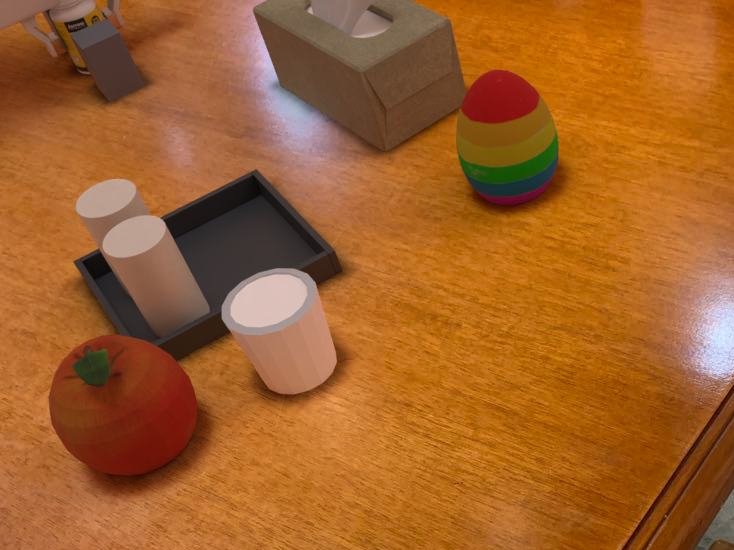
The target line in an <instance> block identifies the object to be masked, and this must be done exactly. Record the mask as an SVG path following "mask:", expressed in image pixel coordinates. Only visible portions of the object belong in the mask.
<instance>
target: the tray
mask: <svg viewBox="0 0 734 550" xmlns="http://www.w3.org/2000/svg"><path fill="white" fill-rule="evenodd" d="M159 218H160V219H162V220H163V221H164V222H165V224H166V226H167V228H168V230H169V232H170V234H171V235H172V237H173V239H174V241H175V243H176V245H177V247H178V249H179V251H180V252H181V254H182V256H183V258H184V260H185V262H186V264H187V266H188V267H189V269H190V271H191V273H192V275H193V277H194V279H195V281H196V282H197V284H198V286H199V288H200V290H201V292H202V294H203V296H204V298H205V299H206V301H207V303H208V305H209V308H210V312H209V313H207V314H205V315H203V316H202V317H200V318H198V319H196V320H194V321H192V322H190V323H188V324H187V325H185V326H183V327H181V328H179V329H177V330H175V331H174V332H172V333H170V334H168V335H166V336H164V337H162V338H160V337H158V336H156V335H155V334H154V333H153V331H152V330H151V328H150V326H149V325H148V323H147V322H146V320H145V318H144V317H143V315H142V313H141V312H140V310H139V308H138V307H137V305H136V303H135V302H134V300H133V298H132V297H130V296H129V295H127V293H126V292H125V291H124V289H123V287H122V286H121V284H120V282H119V281H118V279H117V277H116V276H115V274H114V272H113V271H112V269H111V267H110V266H109V264H108V263H107V261H106V259H105V258H104V256H103V254H102V253H101V251H100V249H99V248H97V249H95V250H93V251H91V252H89V253H87V254H84V255H82V256H81V257H80V258H77V259H75V260H73V261H72V262H73V264H74V266H75V268H76V269H77V270H78V272H79V274H80V275H81V277H82V278H83V280H84V281H85V282H86V284H87V286H88V287H89V289H90V291H91V292H92V294H93V295H94V296H95V299H96V300H97V301H98V303H99V304H100V306H101V308H102V309H103V311H104V312H105V313H106V315H107V317H108V318H109V319H110V321H111V323H112V324H113V327H115V329H116V330H117V332H118V334H119V335H122V336H127V337H132V338H137V339H141V340H145V341H147V342H149V343H151V344H153V345H155V346H157V347H159V348H161V349H162V350H164V351H165V352H167V353H168V354H170V355H171V356H172V357H173V358H174V359H175V361H176V362H178V361H179V360H181V359H183V358H185V357H187V356H188V355H191V354H192V353H194V352H196V351H198V350H199V349H201V348H203V347H206V346H207V345H209V344H211V343H213V342H214V341H217V340H218V339H220V338H223V337H224V336H226V335H228V334H230V333H231V332H230V330H229V329H228V327H227V326H226V324H225V323H224V321H223V320H222V305H223V303H224V301H225V299H226V297H227V296H228V294H229V293H230V292H231V291H232V290H233V289H234V288H235V287H236V286H237V285H238V284H239V283H241V282H242V281H244V280H246V279H247V278H249V277H251V276H253V275H255V274H257V273H260V272H264V271H268V270H272V269H276V268H288V269H296V270H299V271H302V272H304V273H307V274H308V275H309V276H310V277H311V278H312V279H313V281H314V282H315V283H316V286H318V285H320V284H321V283H323V282H325V281H327V280H329V279H331V278H333V277H334V276H336V275H338V274H340V273H342V272H343V268H342V265H341V263H340V260H339V258H338V255H337V252H336V250H335V249H334V248H333V247H332V246H331V244H329V243H328V241H326V239H324V238H323V236H322V235H320V233H319V232H318V231H317V229H315V228H314V227H313V226H312V225H311V223H309V222H308V220H306V219H305V218H304V217H303V216H302V215H301V214H300V213H299V211H298V210H296V208H294V206H293V205H292V204H291V203H290V202H289V201H288V200H287V199H286V198H285V197H284V196H283V195H282V194H281V193H280V191H279V190H278V189H276V187H274V186H273V184H271V182H270V181H269V180H268V179H267V178H266V177H265V176H264V175H263V174H262V173H261V171H259V170H258V169H257V168H256V169H254V170H251V171H249V172H248V173H245V174H243V175H242V176H239V177H238V178H235V179H233V180H232V181H230V182H228V183H226V184H223V185H222V186H220V187H218V188H215V189H214V190H212V191H210V192H207V193H205V194H203V195H202V196H199V197H198V198H196V199H193V200H192V201H190V202H188V203H186V204H184V205H182V206H179V207H178V208H176V209H174V210H172V211H170V212H168V213H166V214H164V215H162V216H160V217H159Z"/></svg>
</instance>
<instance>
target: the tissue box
mask: <svg viewBox="0 0 734 550" xmlns="http://www.w3.org/2000/svg"><path fill="white" fill-rule="evenodd" d="M252 13H253V15H254V18H255V21H256V23H257V26H258V29H259V32H260V35H261V38H262V40H263V43H264V45H265V48H266V50H267V53H268V55H269V59H270V61H271V64H272V66H273V69H274V72H275V74H276V77H277V79H278V83H279V85H280V87H281V88H283V89H284V90H286V91H288V92H289V93H291V94H293V95H294V96H296V97H297V98H299V99H300V100H301V101H303V102H305V103H307V104H308V105H309V106H311V107H312V108H314V109H315V110H318V111H319V112H321V113H322V114H324V115H325V116H327V117H329V119H331V120H333V121H335V122H337V123H338V124H339V125H341V126H343V127H344V128H346V129H348V130H349V131H350V132H352V133H353V134H355V135H356V136H358V137H360V138H362V139H363V140H365V141H366V142H367V143H369V144H371V145H372V146H374V147H375V148H377V149H379V150H380V151H382V152H384V153H385V152H389V151H390V150H392V149H393V148H395V147H396V146H398V145H400V144H402V143H403V142H405V141H406V140H408V139H410V138H411V137H413V136H414V135H416V134H418V133H420V132H421V131H423V130H425V129H426V128H428V127H429V126H431V125H433V124H434V123H436V122H438V121H439V120H441V119H443V118H444V117H446V116H447V115H449V114H451V113H453V112H454V111H456V110H457V109H459V108H460V107H461V104H462V102H463V99H464V97H465V95H466V94H467V92H468V91H467V88H466V83H465V78H464V74H463V70H462V66H461V61H460V56H459V51H458V47H457V42H456V38H455V34H454V29H453V24H452V21H451V20H452V19H450V18H448V17H446V16H444V15H441V14H440V13H438V12H435V11H434V10H432V9H429V8H428V7H426V6H423V5H421V4H419V3H417V2H415V1H413V0H264V1H263V2H262V1H261V2H260V3H259V4H257V5H255V6H253V8H252Z"/></svg>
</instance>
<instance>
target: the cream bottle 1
mask: <svg viewBox="0 0 734 550" xmlns="http://www.w3.org/2000/svg"><path fill="white" fill-rule="evenodd" d="M75 211H76V213H77V215H78V217H79V218H80V220H81V222H82V223H83V225H84V226H85V228H86V230H87V231H88V233H89V235H90V237H91V238H92V240H93V242H94V243H95V244H96V246H97V249H100V251H101V253H102V254H103V256H104V258H105V259H106V261H107V263H108V264H109V266H110V267H111V269H112V271H113V272H114V274H115V276H116V277H117V279H118V281H119V282H120V284H121V286H122V287H123V289H124V291H125V292H126V293H127V295H129V296H130V297H131V295H130V293H129V292H128V290H127V288H126V287H125V285H124V283H123V282H122V280H121V279H120V277H119V275H118V274H117V272H116V270H115V269H114V267H113V265H112V264H111V262H110V260H109V259H108V257H107V255H106V254H105V252H104V250H103V247H102V244H103V240H104V238H105V236H106V235H107V233H108V232H109V231H110V230H111V229H112V228H114V227H115V226H116V225H118V224H119V223H121V222H123V221H125V220H127V219H130V218H133V217H137V216H143V215H151V216H152V214H151V212H150V210H149V208H148V207H147V204H146V202H145V201H144V199H143V197H142V195H141V194H140V192H139V190H138V188H137V186H136V184H135V183H134V182H133V181H132V180H129V179H127V178H111V179H106V180H103V181H101V182H98V183H95V184H94V185H92V186H91V187H89V188H87V189H86V190H85V191H84V192H82V193H81V194H80V196H79V197H78V198H77V200H76V202H75Z"/></svg>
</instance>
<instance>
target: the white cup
mask: <svg viewBox="0 0 734 550" xmlns="http://www.w3.org/2000/svg"><path fill="white" fill-rule="evenodd" d="M317 286H318V285H316V283H315V282H314V281H313V279H312V278H311V277H310V276H309V275H308V274H307V273H304V272H302V271H299V270H296V269H288V268H276V269H272V270H268V271H264V272H260V273H257V274H255V275H253V276H251V277H249V278H247V279H246V280H244V281H242V282H241V283H239V284H238V285H237V286H236V287H235V288H234V289H233V290H232V291H231V292H230V293H229V294H228V296H227V297H226V299H225V301H224V303H223V305H222V320H223V321H224V323H225V324H226V326H227V327H228V329H229V330H230V332H229V333H231V335H232V336H233V338H234V340H235V341H236V342H237V344H238V345H239V347H240V348H241V350H242V351H243V353H244V354H245V356H246V357H247V359H248V361H249V362H250V363H251V365H252V366H253V368H254V369H255V371H256V372H257V374H258V375H259V377H260V378H261V380H262V381H263V383H264V384H265V385H266V387H267V389H268V390H270V391H273V392H275V393H277V394H279V395H297V394H301V393H305V392H309V391H311V390H313V389H314V388H316V387H318V386H321V385H322V384H323V383H324V382H325V381H327V379H328V378H329V377H330V376H331V375H332V374H333V372H334V370H335V368H336V365H337V363H338V360H337V352H336V348H335V345H334V342H333V341H334V340H333V337H332V335H331V331H330V327H329V325H328V322H327V317H326V314H325V311H324V307H323V303H322V300H321V296H320V293H319V290H318V287H317Z"/></svg>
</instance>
